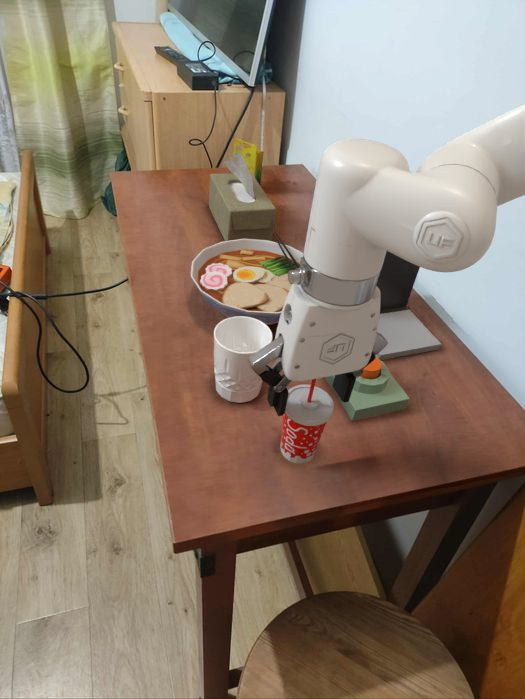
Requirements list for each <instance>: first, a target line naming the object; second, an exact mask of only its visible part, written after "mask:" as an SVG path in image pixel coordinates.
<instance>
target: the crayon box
mask: <svg viewBox="0 0 525 699" xmlns="http://www.w3.org/2000/svg"><path fill="white" fill-rule="evenodd" d="M233 140H234V141H233V151H232V157H234V156H235V155H237V154H238V153H241V154H242V156H243V158H244V160H245V162H246V165H247V167H248V169H249V172H250V173H252V174H253V176H254V177H255V179H256V180H257V182H258V183H259V185H260V186H261V185H262V175H263V163H264V155H265V154H264V151H263V150H260V149H258V148H259V147H258V145H257V144H253V143H251V142H249V141H245V140H243V139H240V138H238V137H234V138H233ZM261 187H262V186H261Z"/></svg>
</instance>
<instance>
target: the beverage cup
mask: <svg viewBox="0 0 525 699" xmlns="http://www.w3.org/2000/svg"><path fill="white" fill-rule="evenodd" d="M316 382H317V379H311V382H310V384H298V385H295V386H291V387H290V388H289V389H287V390H288V393H289V394H288V399H287V404H286V409H285V414H283V416H282V417H283V418H282V426H281V434H280V435H281V437H280V446H279V447H280V453H281V455H282V456H283V458H284V459H286V460H288V461H289V462H291V463H295V464H305V463H309V462H310V461H312V459H313V458H314V457H315V454H316V451H317V448H318V446H319V443H320V440H321V438H322V435H323V433H324V430H325V427H326V424H327V422H328V421H329V420H330V419H331V417H332V415H333V411H334V408H335V405H334V400H333V398H332V397H331V396H330V395H329V393H328V392H327V391H326V390H324V389H323V388H320V387H318V386H316Z"/></svg>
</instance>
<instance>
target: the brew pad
mask: <svg viewBox="0 0 525 699" xmlns="http://www.w3.org/2000/svg"><path fill="white" fill-rule="evenodd" d="M375 356H376V355H375ZM376 357H377V356H376ZM377 358H378V357H377ZM378 359H379V358H378ZM379 360H380V359H379ZM380 361H381V364H382V367H381V370H380V373H379V375H378V377H377V378H375V379H365V378H362V377H361V376H360V377H357V378H356V381H355V384H354V387H353V390H352V393H351V396H350V399H349V402H342V400H341V399H340V397H339V396H338V394H337V393H336V391H335V389H334V388H333V381H334V377H335V375H333V376H328V377H324V379H325V381H326V382H327V384H328V385H329V387H330V389H331V390H332V392H333V393H334V395H335V396H336V398H337V399H338V401H339V403H340V404H341V406H342V408H343V409H344V411H345V413H346V414H347V416H348V417H349V419H350V420H351V422H354V421H358V420H362V419H366V418H367V419H368V418H371V417H375V416H379V415H384V414H389V413H393V412H397V411H403V410H406V409H407V406H408V404H409V403H410V402H409V401H410V397H409V396H408V394H407V393H406V392H405V391H404V389H403V388H402V386H401V385H400V384H399V383H398V382H397V380H396V379H395V378H394V376H393V375H392V373H391V372H390V369H389V368H388V366H387V365H386V364H385V362H384V361H383V360H380Z"/></svg>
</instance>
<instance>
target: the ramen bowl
mask: <svg viewBox="0 0 525 699" xmlns="http://www.w3.org/2000/svg"><path fill="white" fill-rule="evenodd" d="M273 238H274V239H275V241H273V240H272V241H268V240H256V239H238V240H231V241H225V240H224V241H220V242H218V243H215V244H212V245H210V246H207V247H205V248H203V249H202V250H200V252H199V253H198V254H197V255H196V256H195V257H194V258H193V260H191V266H190V267H191V268H190V278H191V280H192V281H193V283H194V286H196V288H197V289H198V291H199V293H200V294H201V296H202V297H203V299H204V300H205V301H206V302H207V303H208V305H210V306H211V307H212V308H213V309H215V310H216V311H218V312H219V313H220V314H222V315H223V316H225V317H227V318H230V317H236V316H245V317H251V318H254V319H257V320H259V321H261V322H263V323H264V324H266V325H267V326H268V325H275V324H278V323H279V319H280V316H281V312H282V309H283V306H284V303H285V300H286V298H287V295H288V293H289V290H290V288H291V286H292V284H290V283H289V280H288V272H289V271H290V270H295V269H296V268H299V267H300V261H301V257H303V253H304V252H302V251H301V250H298V249H296V248H295V247H293V246H291V245H287V244H285V243H284V242H283V240H282V239H281V237H280V236H279V234H278V233H277V232H275V233H274V232H273Z"/></svg>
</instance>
